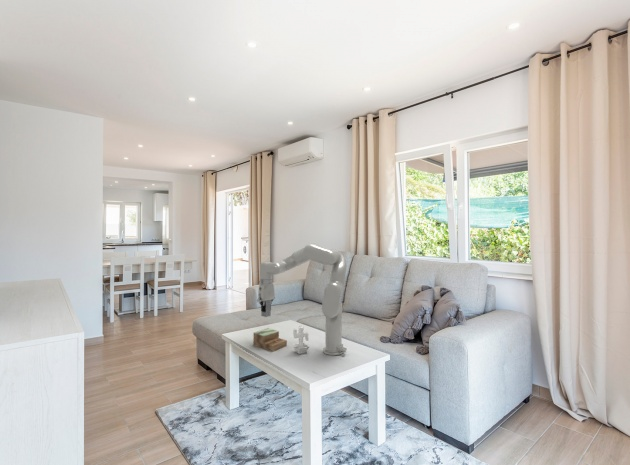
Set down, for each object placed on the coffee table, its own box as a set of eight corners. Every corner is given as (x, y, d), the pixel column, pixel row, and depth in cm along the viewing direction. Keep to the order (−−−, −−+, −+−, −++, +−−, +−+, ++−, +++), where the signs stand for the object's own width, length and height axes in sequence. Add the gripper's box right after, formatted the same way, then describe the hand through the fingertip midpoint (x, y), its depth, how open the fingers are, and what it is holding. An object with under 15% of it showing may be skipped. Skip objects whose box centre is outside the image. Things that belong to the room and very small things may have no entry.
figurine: (311, 352, 195) (311, 327, 195) (296, 355, 190) (296, 329, 190) (305, 348, 201) (305, 324, 201) (291, 351, 196) (291, 326, 196)
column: (270, 315, 209) (270, 296, 208) (265, 317, 205) (265, 297, 205) (266, 314, 211) (266, 295, 211) (261, 315, 208) (261, 296, 208)
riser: (286, 346, 206) (286, 333, 206) (272, 351, 196) (272, 338, 196) (267, 340, 216) (267, 328, 216) (253, 345, 207) (253, 332, 207)
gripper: (259, 284, 199) (259, 314, 199) (280, 280, 212) (279, 309, 212) (251, 282, 204) (251, 312, 204) (271, 279, 217) (271, 307, 217)
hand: (266, 310), depth 208 cm, fingers closed on column, 4 cm apart
